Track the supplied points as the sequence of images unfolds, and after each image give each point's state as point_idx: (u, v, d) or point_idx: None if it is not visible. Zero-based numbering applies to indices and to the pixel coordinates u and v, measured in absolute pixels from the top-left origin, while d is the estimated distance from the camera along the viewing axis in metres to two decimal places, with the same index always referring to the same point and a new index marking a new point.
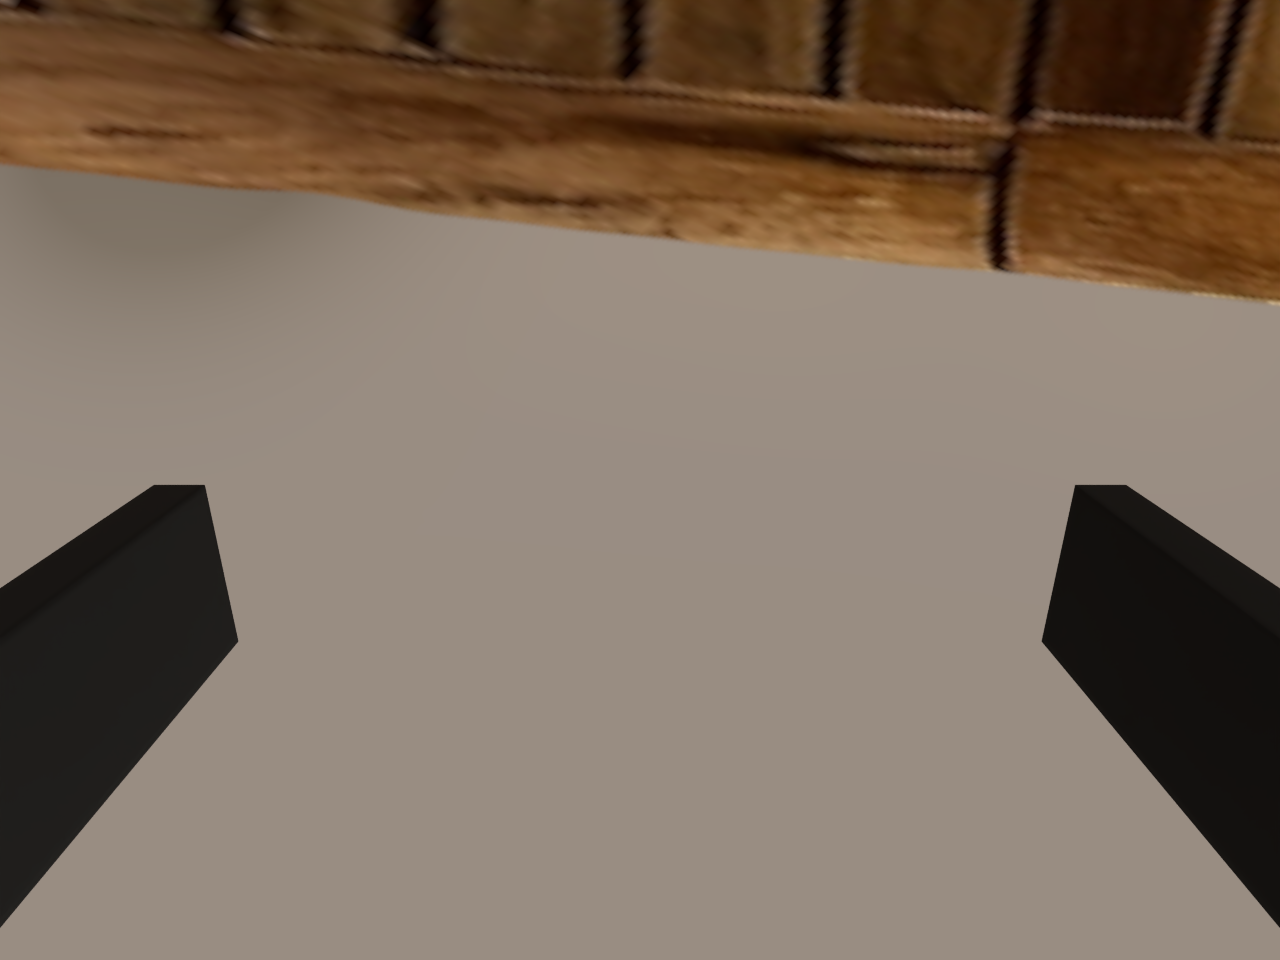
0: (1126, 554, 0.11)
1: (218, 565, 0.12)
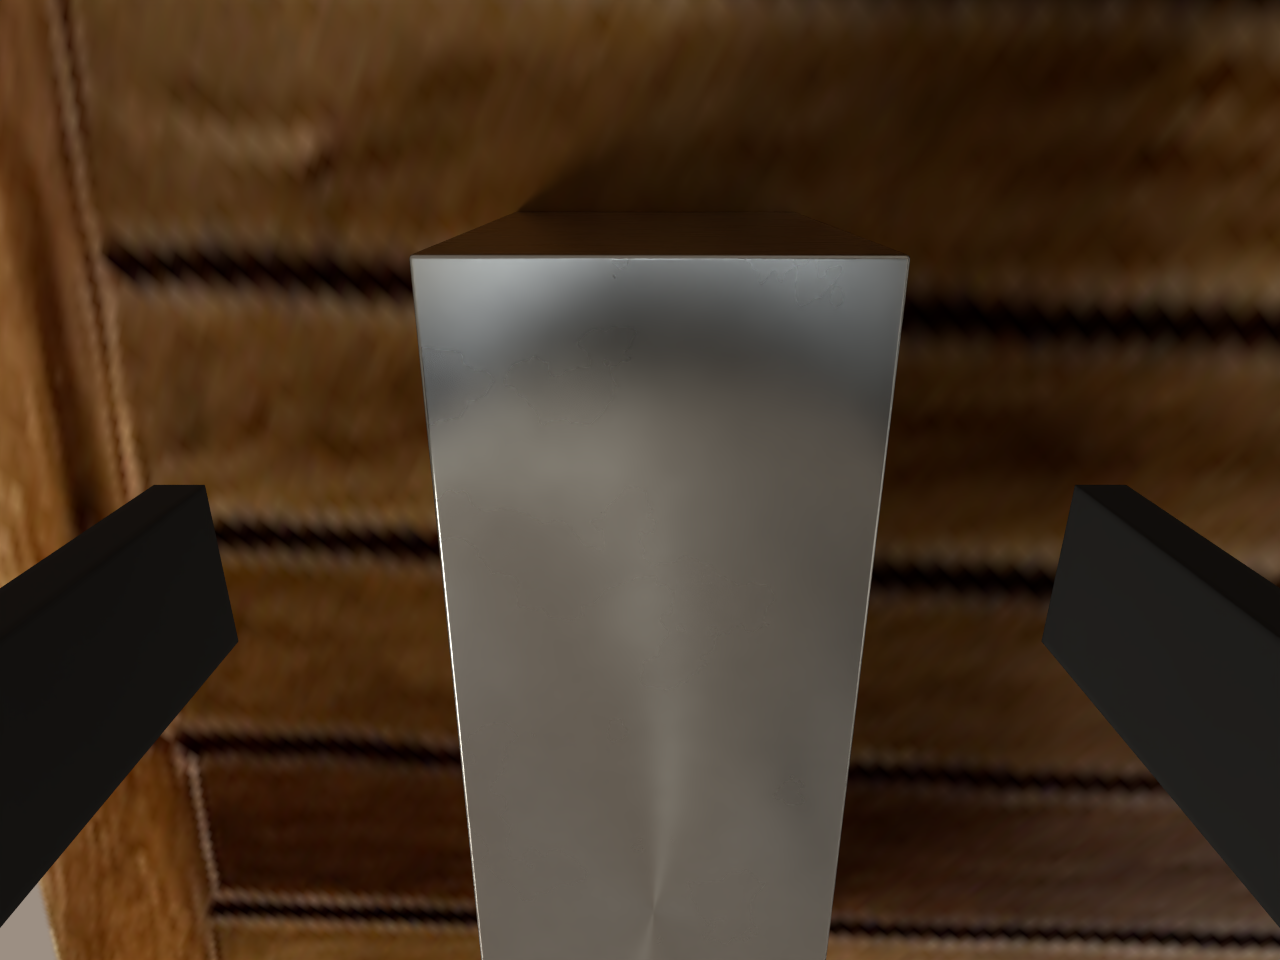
0: (1126, 554, 0.11)
1: (218, 564, 0.12)
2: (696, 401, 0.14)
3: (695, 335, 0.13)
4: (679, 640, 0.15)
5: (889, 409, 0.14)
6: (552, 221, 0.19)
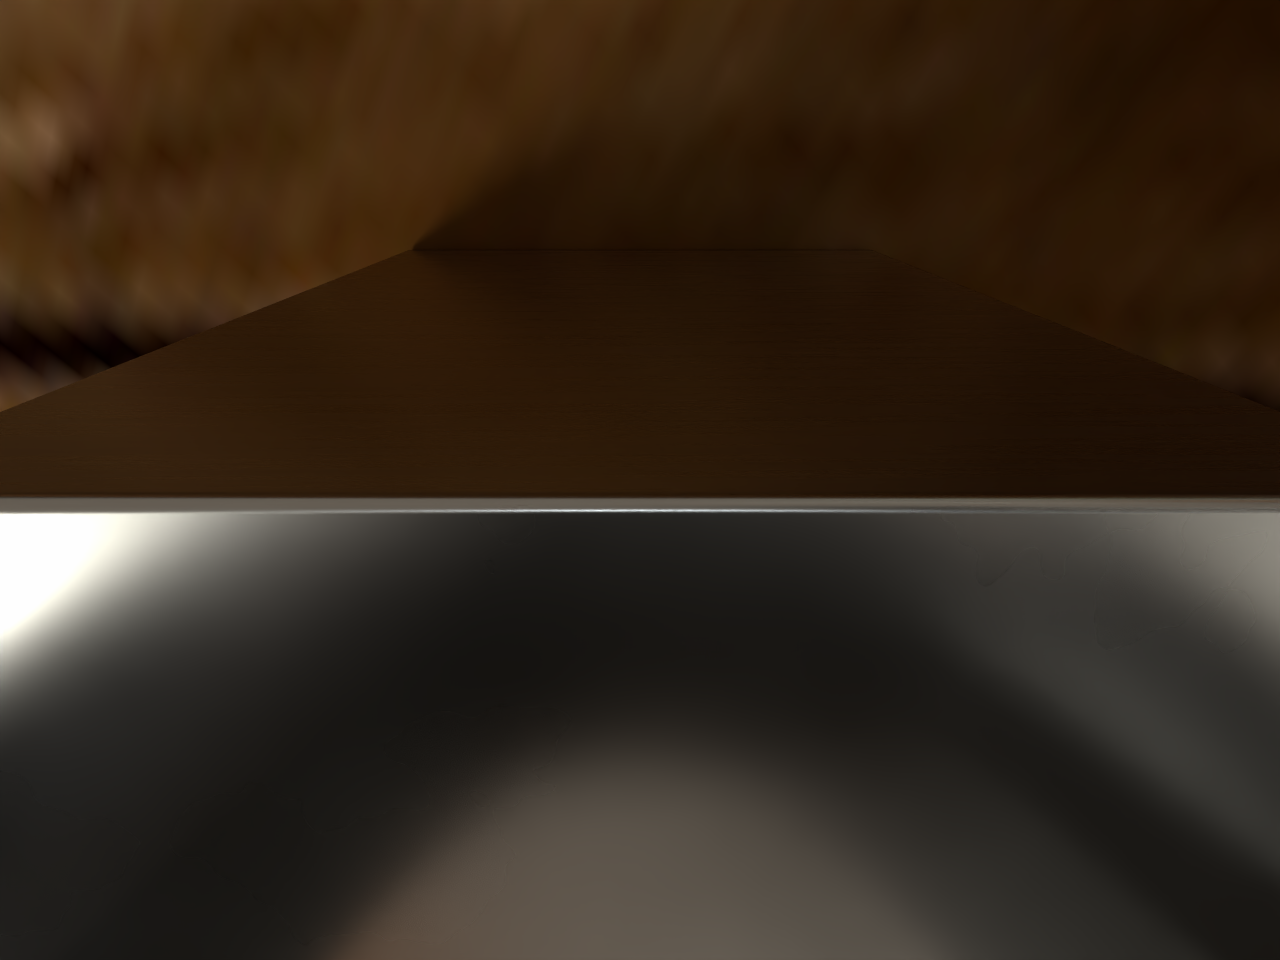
0: None
1: None
2: (753, 891, 0.05)
3: (757, 726, 0.04)
4: None
5: None
6: (444, 280, 0.10)
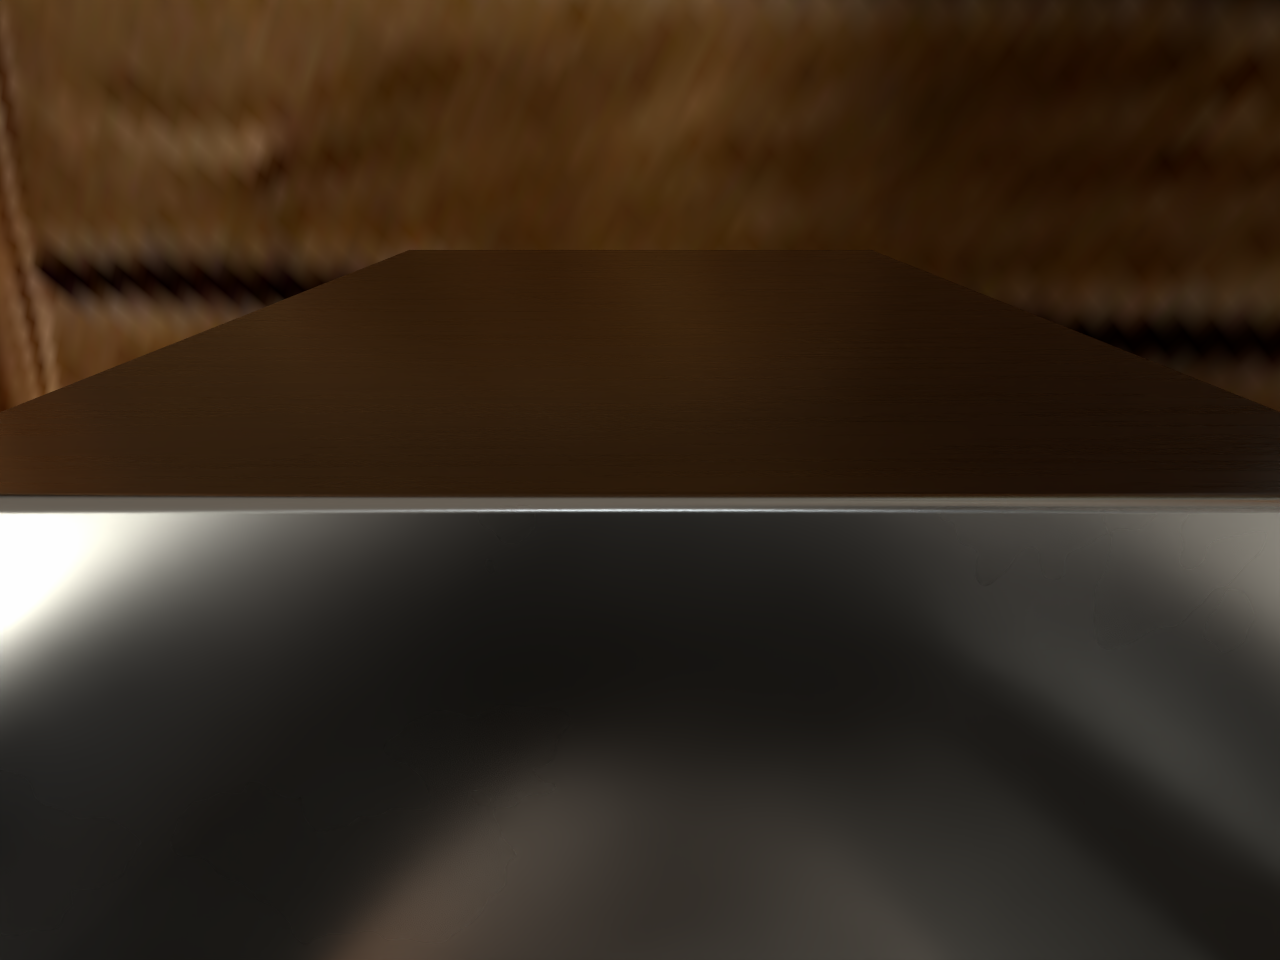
0: None
1: None
2: (755, 891, 0.05)
3: (759, 728, 0.04)
4: None
5: None
6: (445, 280, 0.10)
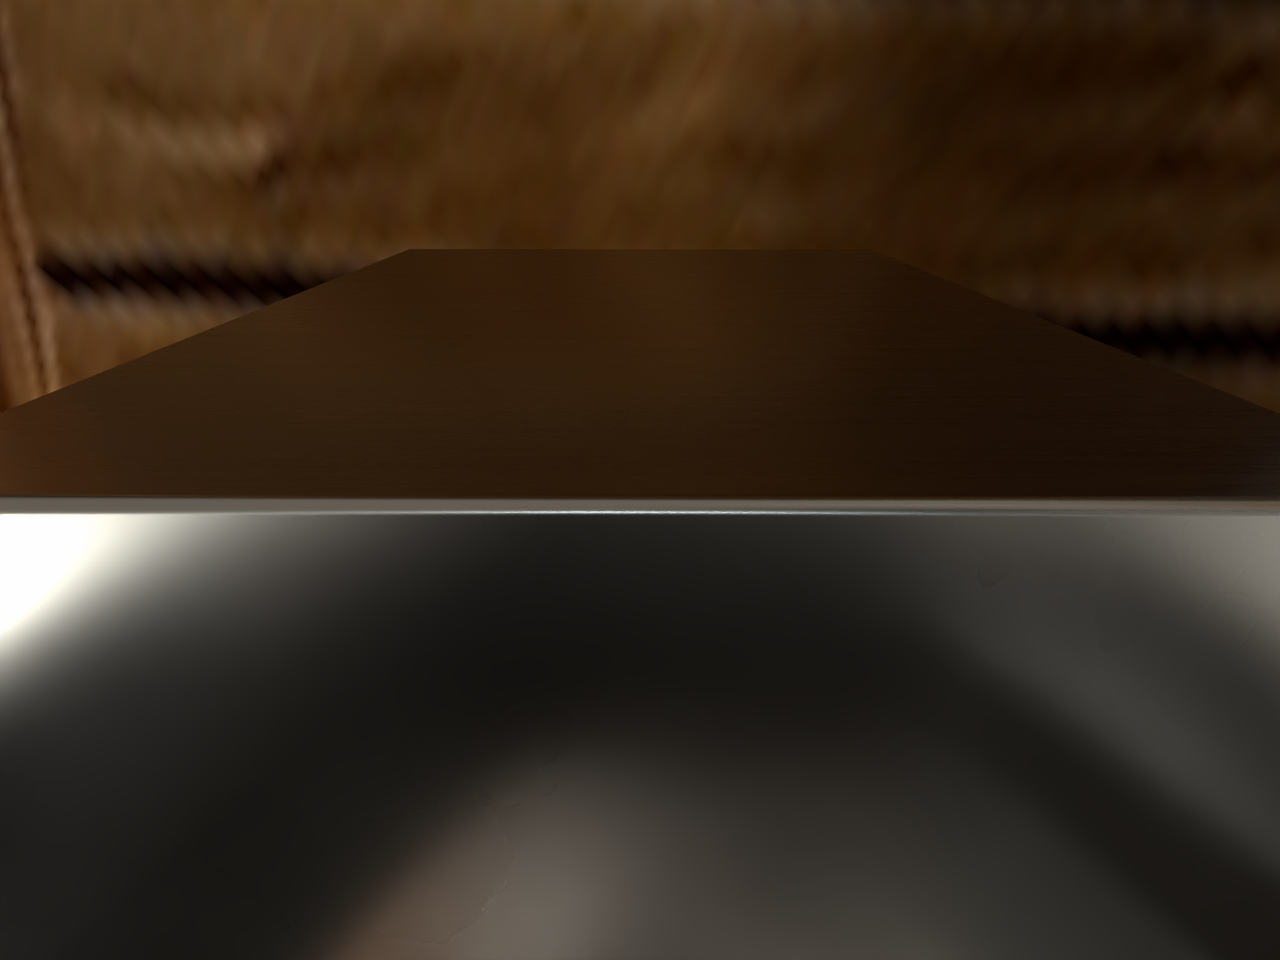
0: None
1: None
2: (755, 891, 0.05)
3: (759, 730, 0.04)
4: None
5: None
6: (445, 280, 0.10)
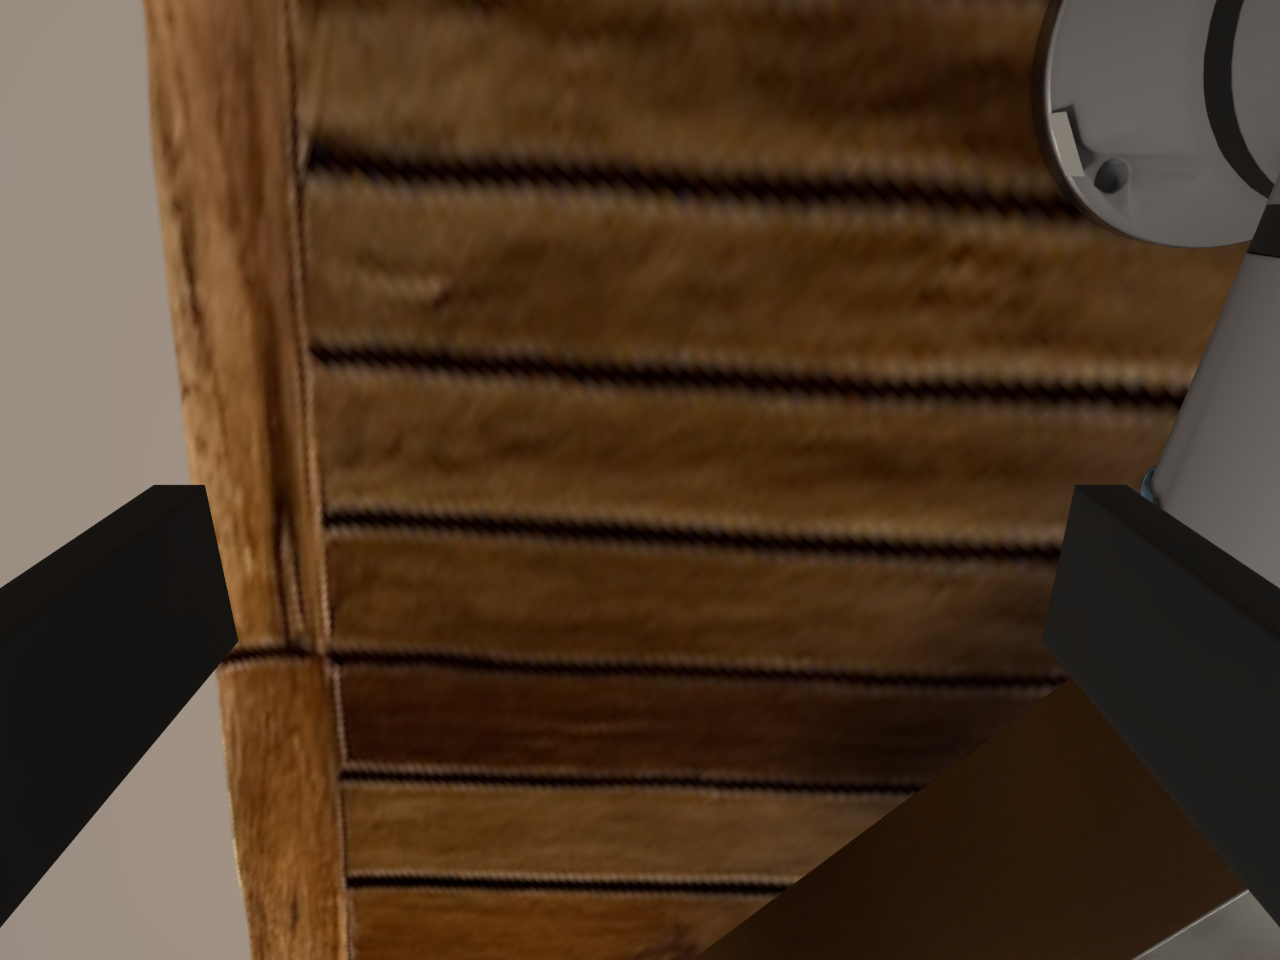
0: (1126, 553, 0.11)
1: (218, 564, 0.12)
2: None
3: None
4: None
5: None
6: None
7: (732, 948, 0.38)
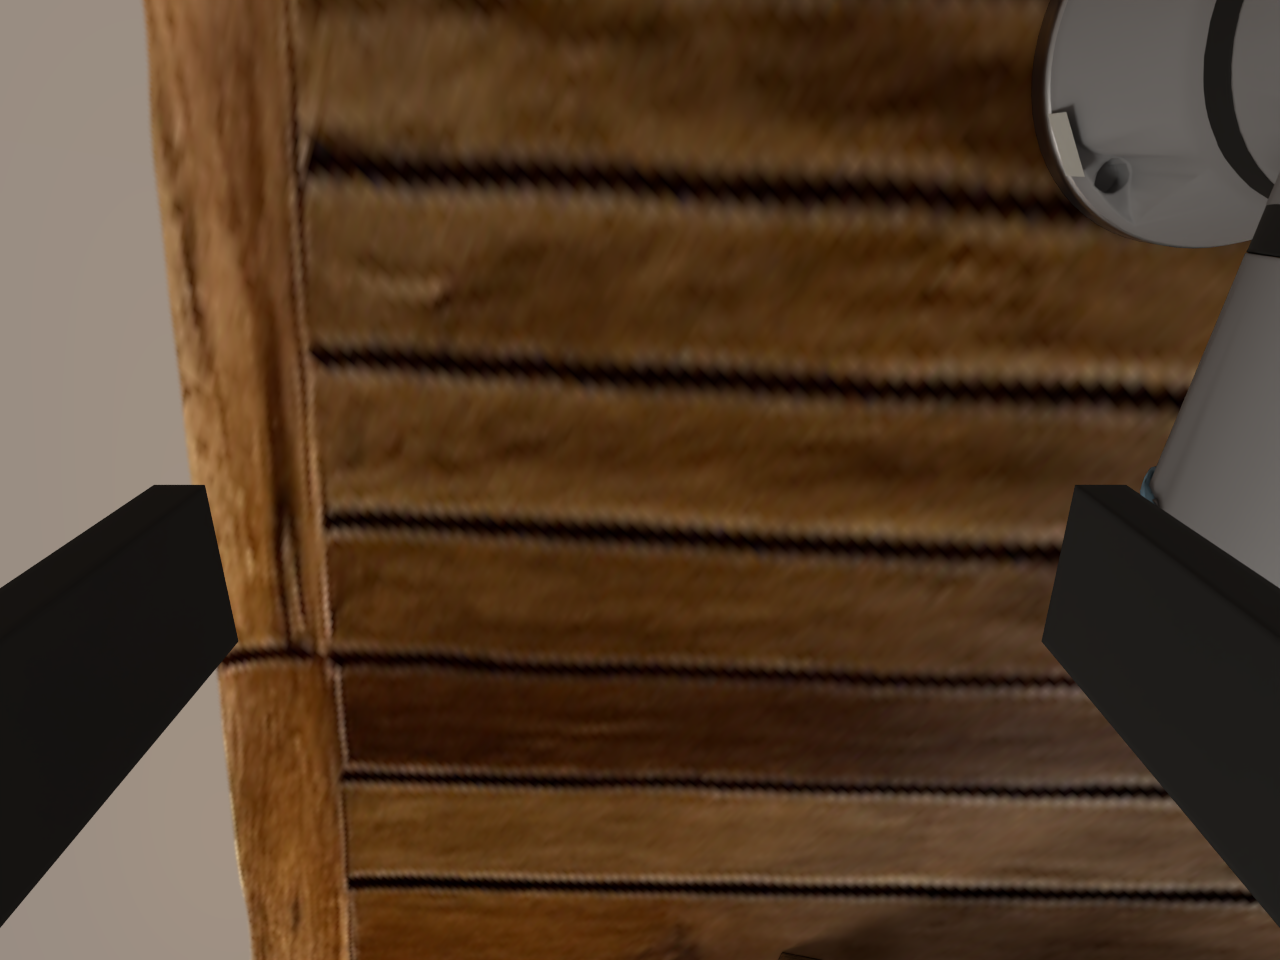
0: (1126, 553, 0.11)
1: (219, 564, 0.12)
2: None
3: None
4: None
5: None
6: None
7: None
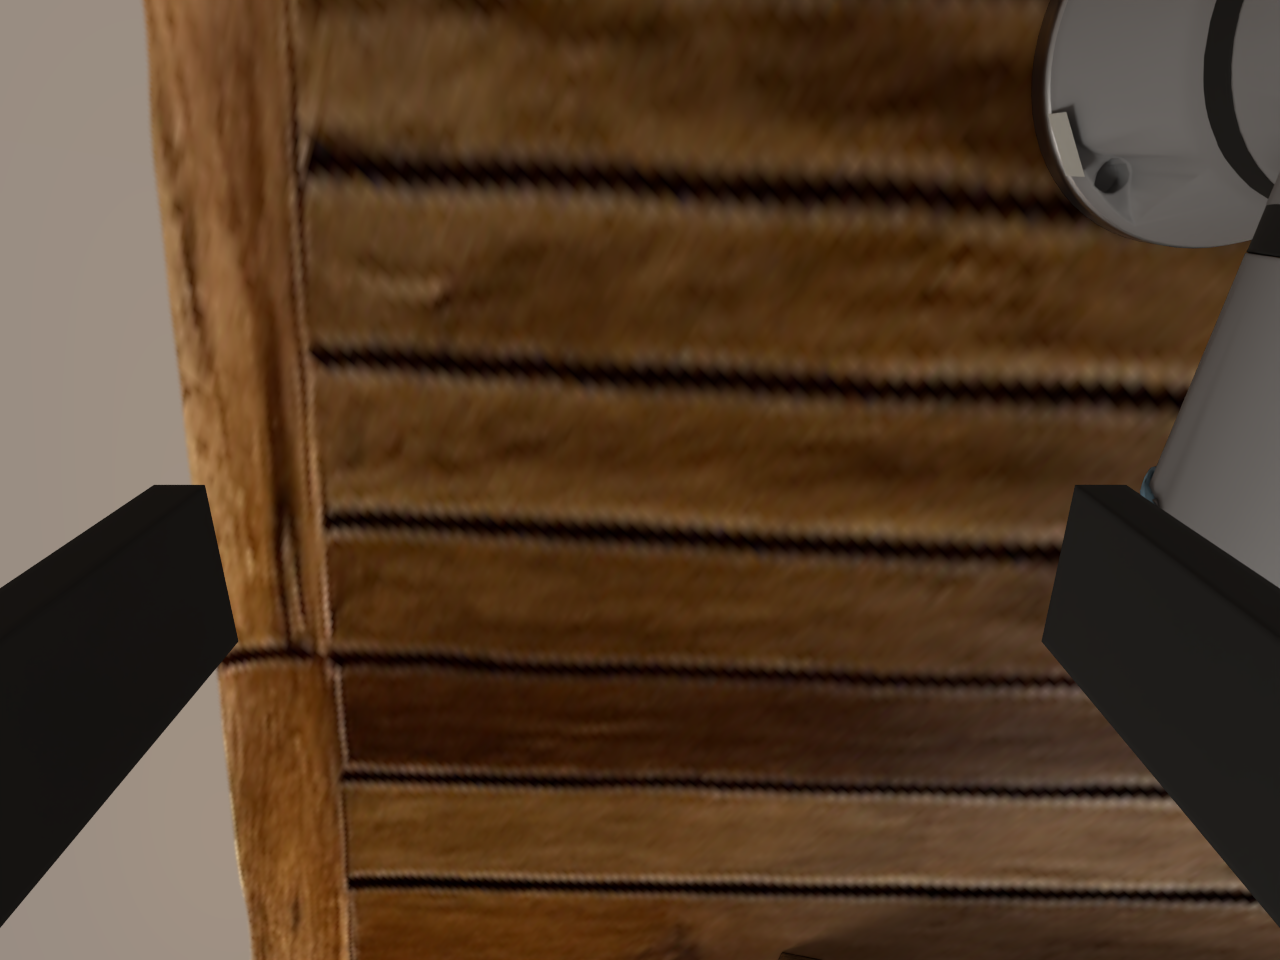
0: (1126, 553, 0.11)
1: (219, 564, 0.12)
2: None
3: None
4: None
5: None
6: None
7: None
